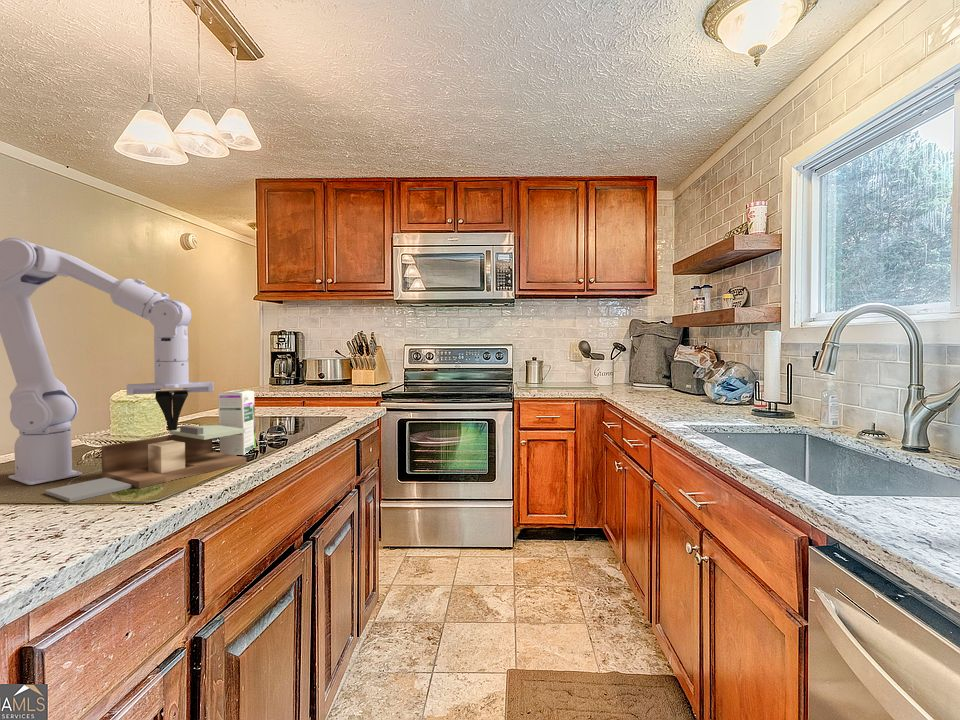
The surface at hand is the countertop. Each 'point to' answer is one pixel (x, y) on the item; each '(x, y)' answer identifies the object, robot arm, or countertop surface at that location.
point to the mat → (87, 489)
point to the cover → (206, 431)
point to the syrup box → (237, 421)
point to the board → (132, 468)
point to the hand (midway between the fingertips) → (172, 429)
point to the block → (166, 456)
